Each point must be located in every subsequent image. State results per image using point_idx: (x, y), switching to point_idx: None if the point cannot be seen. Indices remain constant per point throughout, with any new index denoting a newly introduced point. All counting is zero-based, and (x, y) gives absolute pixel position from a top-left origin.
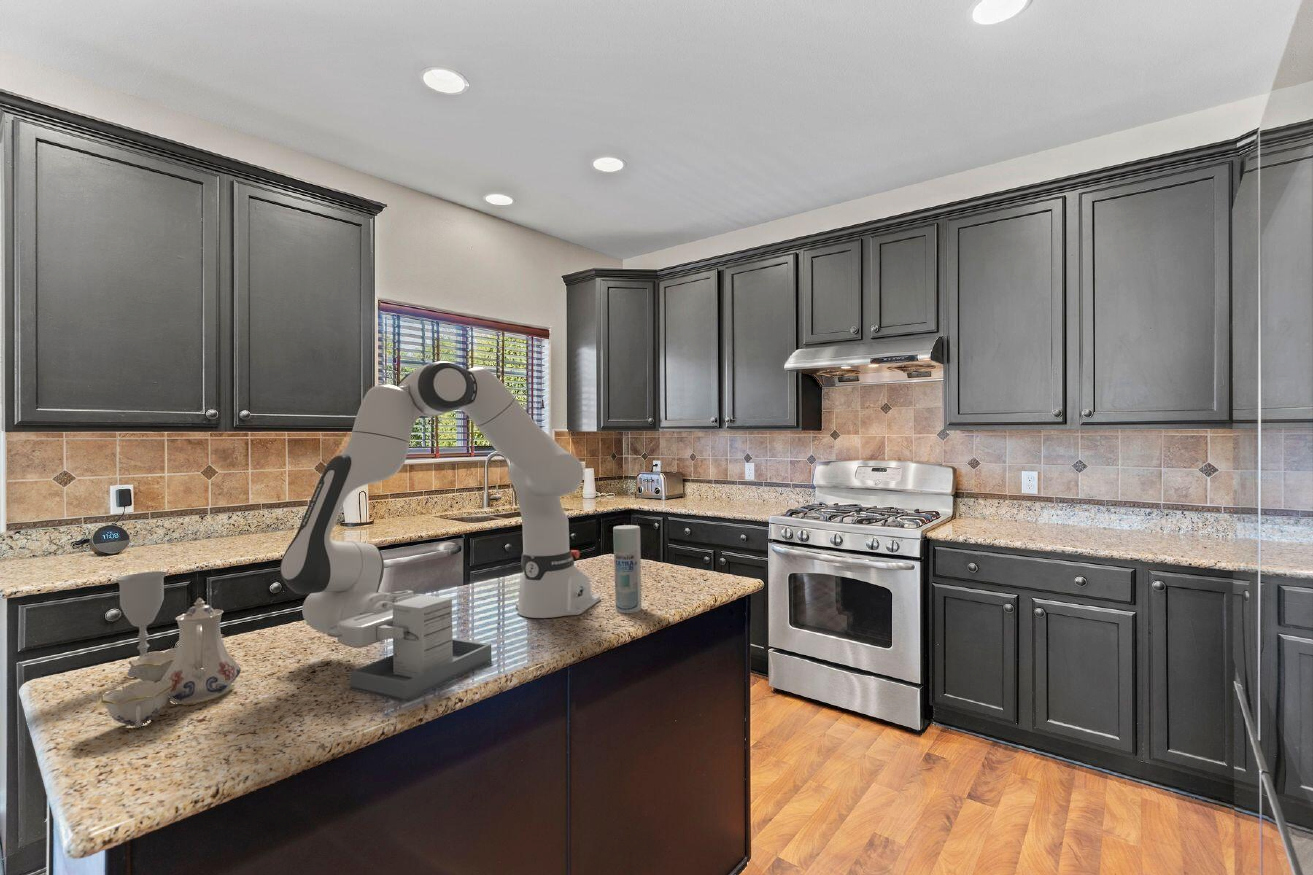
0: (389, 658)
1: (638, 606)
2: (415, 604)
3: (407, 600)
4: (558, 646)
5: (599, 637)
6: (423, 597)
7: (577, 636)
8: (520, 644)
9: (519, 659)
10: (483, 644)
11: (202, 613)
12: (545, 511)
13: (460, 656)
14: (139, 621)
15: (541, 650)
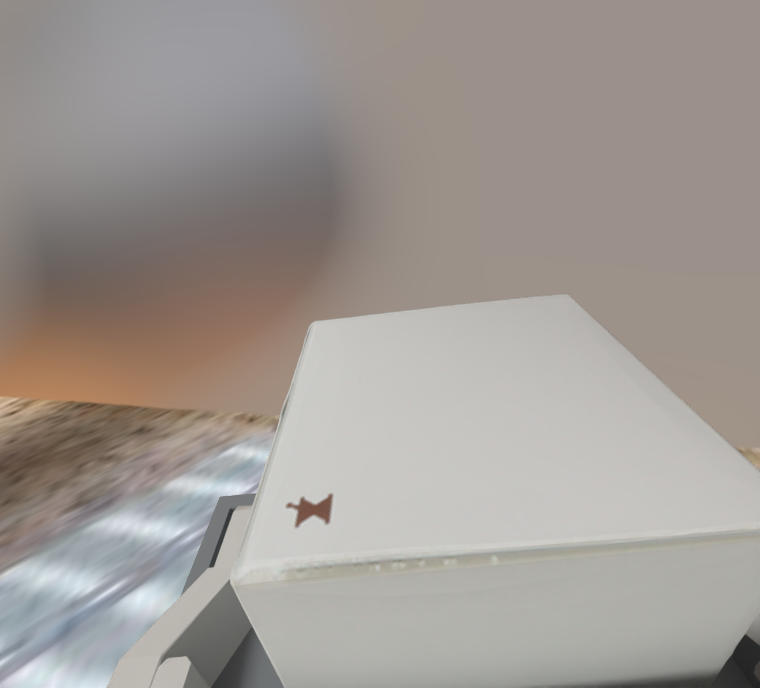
0: None
1: None
2: (566, 339)
3: (569, 480)
4: (104, 453)
5: (42, 418)
6: (379, 437)
7: (10, 462)
8: (49, 567)
9: (219, 471)
10: (221, 521)
11: None
12: None
13: (239, 665)
14: None
15: (137, 469)
